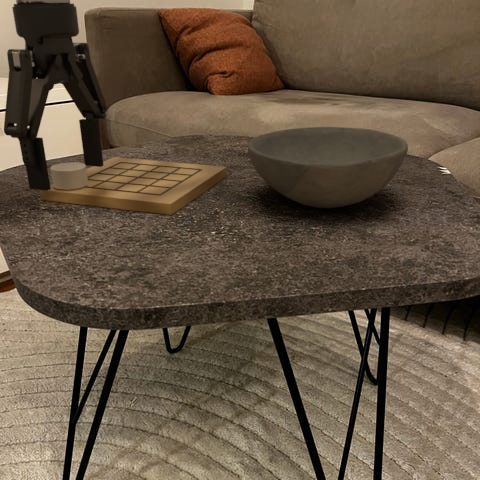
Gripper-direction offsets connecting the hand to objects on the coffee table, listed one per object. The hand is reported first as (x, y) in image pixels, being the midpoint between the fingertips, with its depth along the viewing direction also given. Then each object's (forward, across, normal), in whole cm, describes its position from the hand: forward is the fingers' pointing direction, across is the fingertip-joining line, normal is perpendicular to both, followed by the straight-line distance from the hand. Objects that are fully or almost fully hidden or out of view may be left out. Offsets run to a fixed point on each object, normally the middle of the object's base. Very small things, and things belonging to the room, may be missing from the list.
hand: (69, 176), depth 82 cm
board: (+3, +7, -7) cm, 10 cm away
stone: (+1, 0, 0) cm, 1 cm away
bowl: (+3, +10, -34) cm, 36 cm away
